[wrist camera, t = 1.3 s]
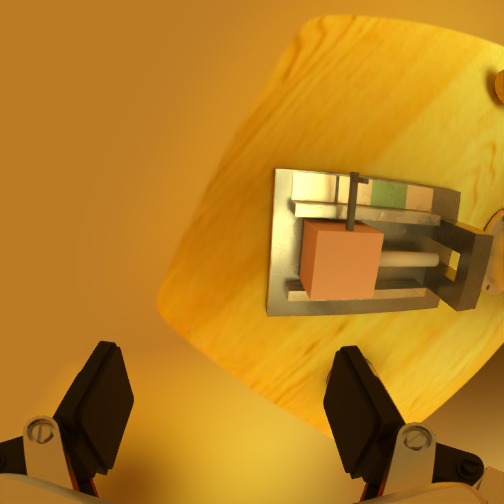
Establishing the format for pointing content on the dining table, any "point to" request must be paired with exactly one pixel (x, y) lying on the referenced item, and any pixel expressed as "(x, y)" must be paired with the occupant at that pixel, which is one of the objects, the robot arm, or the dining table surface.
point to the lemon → (500, 85)
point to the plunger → (349, 255)
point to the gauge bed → (395, 239)
